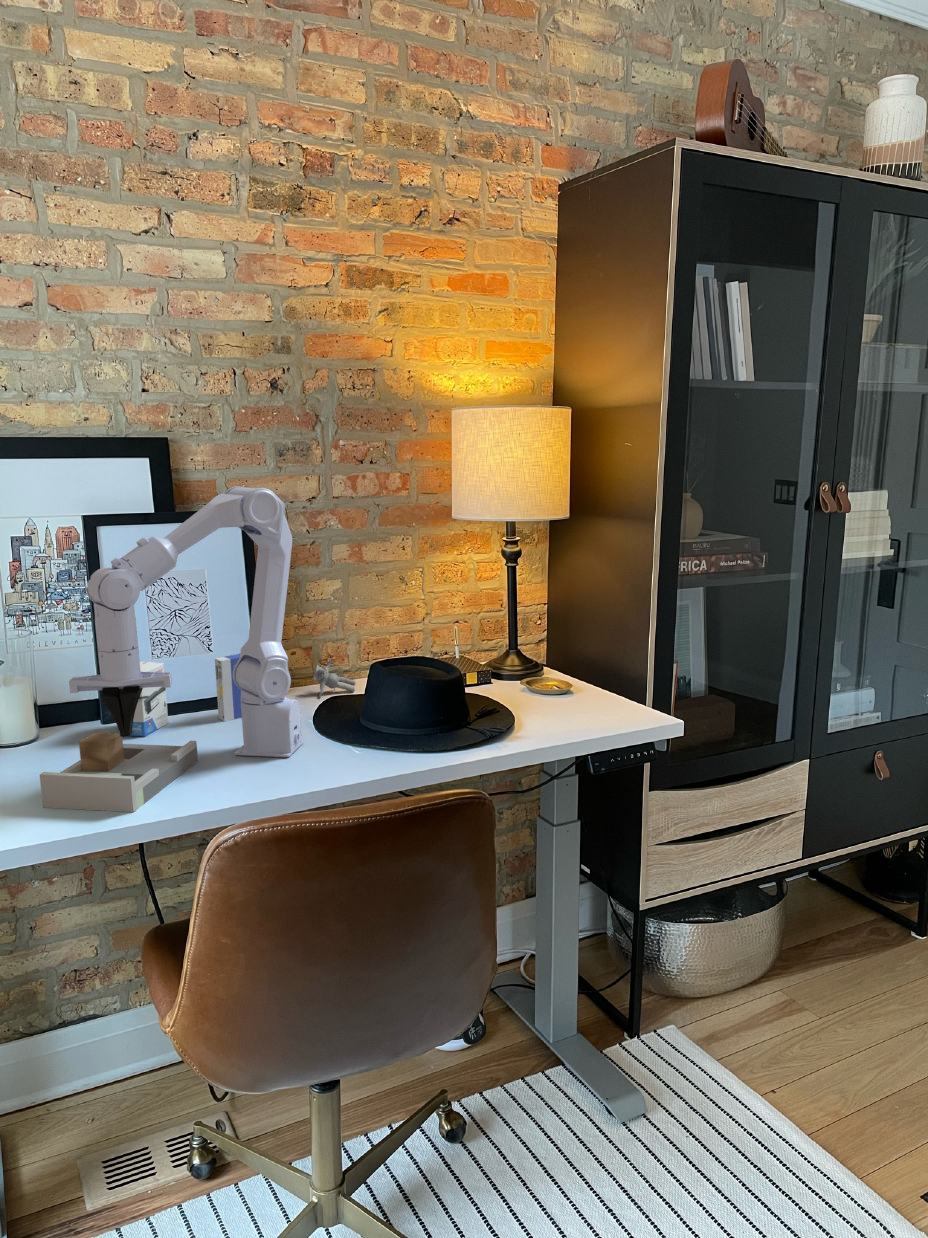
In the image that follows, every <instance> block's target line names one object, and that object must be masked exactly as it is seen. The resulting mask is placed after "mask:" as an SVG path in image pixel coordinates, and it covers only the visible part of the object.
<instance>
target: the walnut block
mask: <svg viewBox="0 0 928 1238" xmlns="http://www.w3.org/2000/svg"><path fill="white" fill-rule="evenodd" d="M123 744H124V740H123V737H121V736H120V733H114V732H94V733H92V734H90V735H88V736H87V737H84V738H82V739H81V740H79V742H78V745H79V746H78V747H79V756H80V760H81V768H82V770H92V771H110V770H112V769H113V768H115V767H116V766H118V765H119V764H121V763H122V762H124V750H123Z"/></svg>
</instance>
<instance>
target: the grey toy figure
mask: <svg viewBox="0 0 928 1238" xmlns="http://www.w3.org/2000/svg"><path fill="white" fill-rule="evenodd" d="M330 664H331V659H330V657H329V658H327V661H326V664H325V665H326V666H325V667H324V668H323V667H322V666H320V665H319V664H316V666H315V669H314V671H313V679H312V681H314V682H317V681H318V683H319V689H320V691H319V699H321V698H322V696H323V694H324V689H325V687H327V688H329V689H333V690H335V691H336V688H337V689H341V690H346V691H348V692H351V693H354V692H355V690H356V687H357V686H356V683H357V680H354V679H349V678H346V677H343V676H338V674H336V673H333V672H332V673H330V671H329V670H330V669H329V668H330Z"/></svg>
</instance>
